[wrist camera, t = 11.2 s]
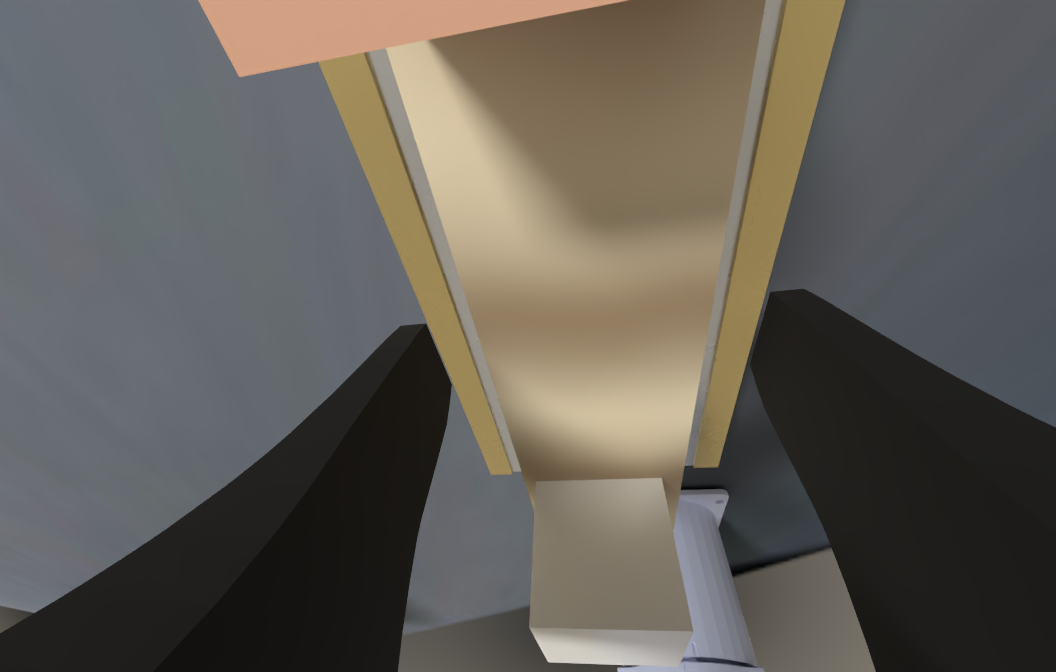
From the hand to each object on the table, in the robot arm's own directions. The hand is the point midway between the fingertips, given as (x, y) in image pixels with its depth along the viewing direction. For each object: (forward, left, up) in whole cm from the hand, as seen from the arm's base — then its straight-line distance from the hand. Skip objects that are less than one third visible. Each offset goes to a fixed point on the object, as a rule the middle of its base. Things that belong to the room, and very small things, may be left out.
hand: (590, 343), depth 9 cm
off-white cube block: (-8, 0, 0) cm, 8 cm away
